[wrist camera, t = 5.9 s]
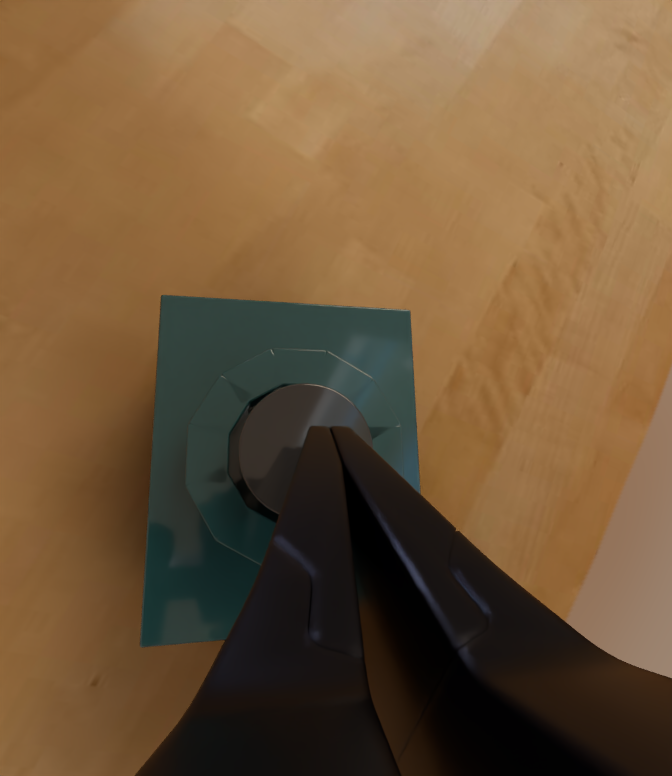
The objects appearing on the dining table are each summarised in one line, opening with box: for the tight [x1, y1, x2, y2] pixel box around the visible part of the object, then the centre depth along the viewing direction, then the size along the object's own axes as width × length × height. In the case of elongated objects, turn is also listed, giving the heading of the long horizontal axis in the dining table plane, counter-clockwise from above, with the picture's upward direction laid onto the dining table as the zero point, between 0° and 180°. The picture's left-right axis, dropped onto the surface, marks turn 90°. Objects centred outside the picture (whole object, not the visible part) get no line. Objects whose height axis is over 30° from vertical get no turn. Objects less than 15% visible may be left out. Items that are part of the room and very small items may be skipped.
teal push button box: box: [140, 295, 420, 648], centre depth 18 cm, size 11×9×9 cm
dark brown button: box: [238, 383, 373, 514], centre depth 13 cm, size 4×4×2 cm
